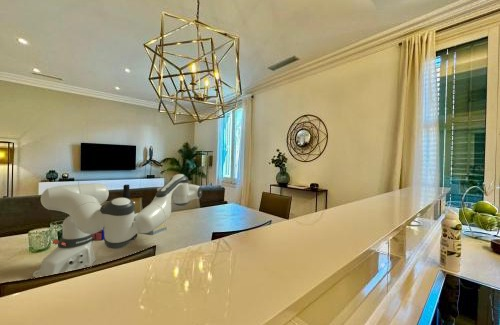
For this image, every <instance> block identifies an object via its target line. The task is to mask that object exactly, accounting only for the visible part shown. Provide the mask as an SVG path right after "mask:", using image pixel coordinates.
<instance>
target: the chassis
mask: <svg viewBox="0 0 500 325" xmlns="http://www.w3.org/2000/svg"><path fill="white" fill-rule="evenodd" d="M166 230H167V226H166V222H164V223H163V224H161V225H160V226H159V227H157V228H156V229H154V230H152V231H150V232H148V233H147V234H148V235H152V236H153V235H157V234H158V233H160V232H163V231H166Z"/></svg>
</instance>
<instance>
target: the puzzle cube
mask: <svg viewBox="0 0 500 325" xmlns="http://www.w3.org/2000/svg"><path fill="white" fill-rule="evenodd" d="M93 240H98V241H104V228H103V230H100V231H99V232H97V233H94V234H93Z"/></svg>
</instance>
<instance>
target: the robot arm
mask: <svg viewBox="0 0 500 325" xmlns="http://www.w3.org/2000/svg"><path fill="white" fill-rule="evenodd" d="M109 191H110V190H109V189H108V187H107V186H106V185H105V184H102V183H83V184H82V183H81V184H68V185H58V186H52V187H49V188H46V189H45V190H44V191H43V192H42V193H41V195H40V203H41V206H43V208H44V209H47V210H48V211H49V210H50V211H58V212H63V213H65V214H67V215H69V216H67V217H65V218H64V220H63V222H62V236H61V238H60V239H57V238H56V239H54V240H52V244H53V245H57V247H55V249H53V250H52V251H51V252H50V253H49V254H47V255H46V256H45V257H44V258H43V259H42V261H41V262H40V268H39V269H37V270H35V271H34V272H33V273H32V274H33V275H32V277H33V278H34V277H40V276H46V275H51V274H57V273H61V272H67V271H71V270H75V269H80V268H84V267H88V266H91V267H92V266H93V264H94V262H95V261H96V257H95V254H94V250H93V249H94V248H93V240H94V239H93V234H94V233H97V232H99V231H100V230H103V228H104V240H103V242H104V245H105V246H106V248H108V249H112V250H118V249H123V248H124V247H126V246H128V245H129V244H131V243H132V242H133V241H135V240H136V239H137V238H138V235H139V234H148V232H150V231H152V230H154V229H156V228H157V227H159V226H160V225H161V224H163V223H166V221H167V220H168V219H169V217H170V215H171V214H172V203H173V204H174V205H176V206H178V207H183V206H184V207H185V206H186V205H188V204H190V202H191V201H192V200H196V199H197V200H198V199H201V198H202V196H203V189H202V187H201V186H200V185H197V184H193V183H189V177H188V176H186V175H185V174H184V173H178V174H174V175H172V177H171V178H170V179H169V180H168V181H167V183H165V184H164V185H163V186H162V187H157V188H156V191H157V192H156V193H155V196H154V198H153V200H151V202H150V203H149V204H148V205H147V206H145V207H144V208H142V210H140V211H139V212H135V214H134V210H135V211H136V204H135V205H134V202H133V201H134V200H133V199H132V198H130V199H129V198H124V197H123V196H122V197H121V196H120V197H114V198H113V199H112V198H111V200H109V201H108V202H106V201H107V200H108V198H109V195H110V193H109ZM131 199H132V200H133V201H132V200H131ZM105 202H106V203H105ZM102 204H103V205H102Z"/></svg>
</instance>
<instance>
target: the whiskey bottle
mask: <svg viewBox="0 0 500 325" xmlns="http://www.w3.org/2000/svg"><path fill="white" fill-rule="evenodd" d="M122 190H123V192H122V197H124V198H129V199H131V200H132V201H133V202H134V205H135V206H136V203H137V202H136V201H135V200H133V199H132V198H130V197H131V192H130V184H124V185H123V188H122ZM134 214H136V209H135V210H134Z"/></svg>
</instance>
